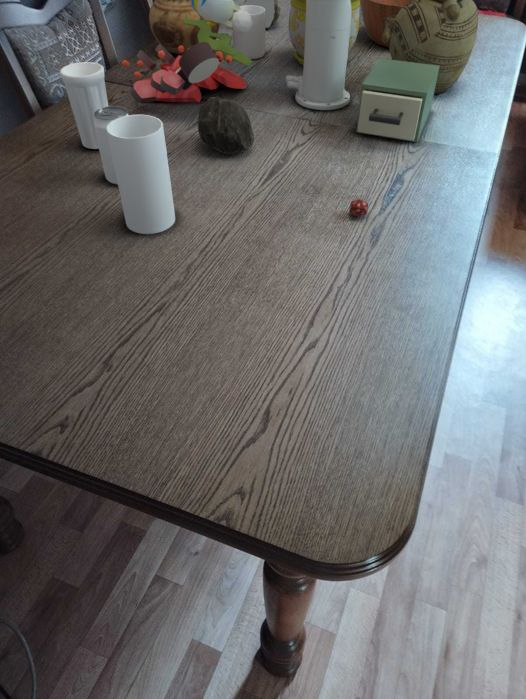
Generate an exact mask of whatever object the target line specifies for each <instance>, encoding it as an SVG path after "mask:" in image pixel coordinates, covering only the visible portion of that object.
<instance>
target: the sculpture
mask: <svg viewBox="0 0 526 699" xmlns="http://www.w3.org/2000/svg"><path fill="white" fill-rule="evenodd" d="M244 5H254V6H260V7H263V8H265V30H270V29H271V28H273V27H274V26H275V25H276V23H277V22H278V20H279V18H280V16H281V6H280V2H279V0H244V1H243V3H242V5H241V6H244Z"/></svg>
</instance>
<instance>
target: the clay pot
mask: <svg viewBox="0 0 526 699" xmlns="http://www.w3.org/2000/svg"><path fill="white" fill-rule="evenodd" d="M186 13H187V17H188V19H189V20H203V19H202V18H201V17H200V16H199V15H198V14H197V12H196V11H195V10H194V8H193V7H192V4H191V0H154V1H153V3H152V4H151V6H150V9H149V12H148V22H149V27H150V31H151V32H152V35H153V37H154V38H155V40H156V42H157V43H158V45H159V44H160V45H162V46H163V47H164V48H165V49H166V50H167V51H168V52H169V53H172V54H176V55H180V56H182V55H183V53H184V52H185V51H187V49H188V48H190V47H192V46H193V45H195V44H197V43H199V41H198V37H197V35H198V33H199V31H200V28H199V27H197V26H192V25H188V24H185V22H184V18H185V15H186ZM205 21H206V20H205ZM207 22H208V21H207ZM220 28H221V23H218V24H216V25H214V26H211V31H212V33H220V32H219V31H220ZM209 37H210V36H209ZM210 38H212V39H213V40H217V38H214V37H210ZM179 46H183V47H184V51H183V52H179V51H178V47H179Z"/></svg>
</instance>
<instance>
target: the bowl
mask: <svg viewBox="0 0 526 699" xmlns="http://www.w3.org/2000/svg"><path fill="white" fill-rule="evenodd" d="M411 1H412V0H360V6H361V7H360V9H361V15H362V21H363V26H364V28H365V31H366V33H367V36H368V37H369V39H370V40H371V41H372V42H374V43H375V44H377V45H379V46H382V47H385V48H390V40H388V41H387V42H386V43H384V42H383V41H382V35H383V30H384V26H383V19H384V18H386V17H388V16H391V15H393V16H396V15H398V13H399V11H400V10H401V9H402V7H404V6H405V5H406V4H407V3H409V2H411Z"/></svg>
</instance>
